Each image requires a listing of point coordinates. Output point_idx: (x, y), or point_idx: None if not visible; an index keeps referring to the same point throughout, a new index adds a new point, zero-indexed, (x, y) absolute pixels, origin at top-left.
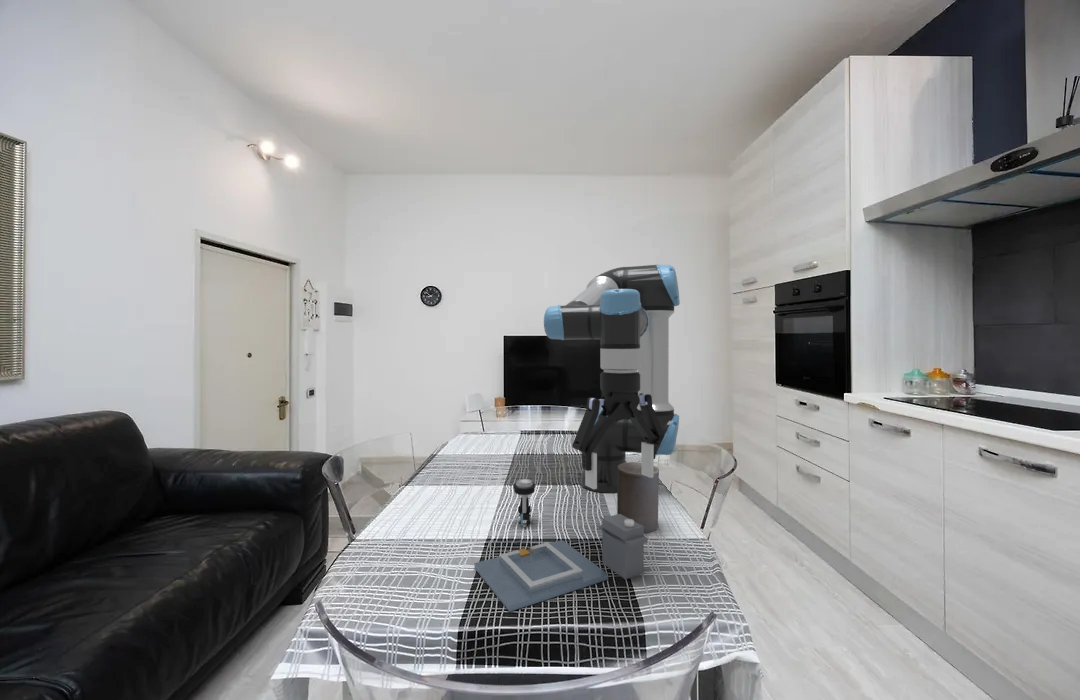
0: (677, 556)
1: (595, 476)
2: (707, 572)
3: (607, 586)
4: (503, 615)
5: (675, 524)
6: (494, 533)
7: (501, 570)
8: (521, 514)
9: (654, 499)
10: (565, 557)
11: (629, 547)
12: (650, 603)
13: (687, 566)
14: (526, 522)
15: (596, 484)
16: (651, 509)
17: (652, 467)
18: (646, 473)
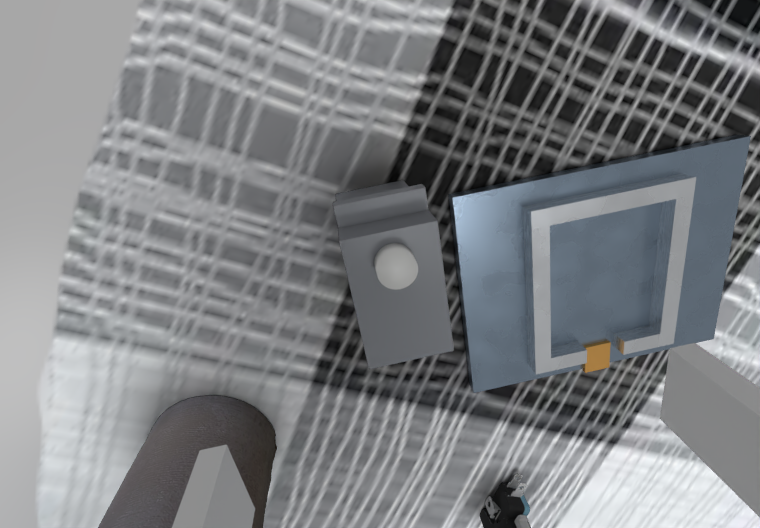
0: (182, 250)
1: (757, 401)
2: (130, 134)
3: (467, 163)
4: (753, 126)
5: (90, 423)
6: (588, 463)
7: (680, 293)
8: (527, 513)
9: (139, 486)
10: (536, 289)
11: (420, 184)
12: (401, 37)
13: (179, 188)
14: (509, 490)
15: (694, 365)
16: (168, 452)
17: (186, 517)
18: (235, 492)
